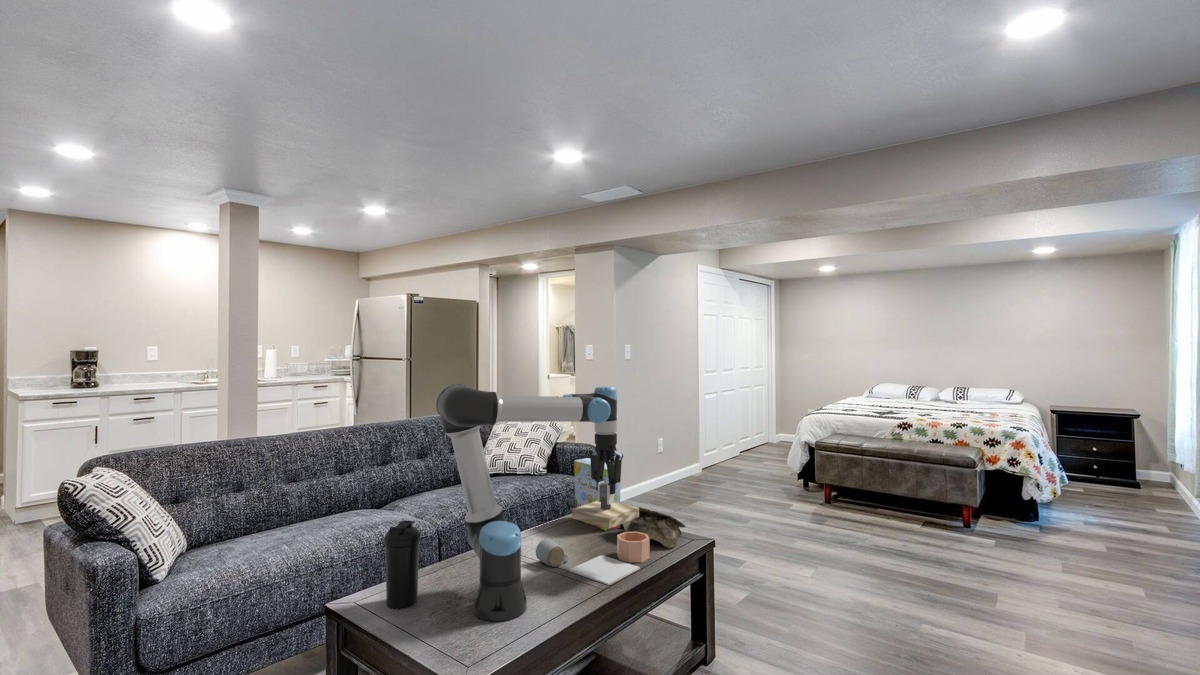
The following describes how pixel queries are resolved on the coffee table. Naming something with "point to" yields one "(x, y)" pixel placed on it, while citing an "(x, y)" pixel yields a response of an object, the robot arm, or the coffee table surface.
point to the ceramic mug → (550, 553)
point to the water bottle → (402, 565)
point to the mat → (604, 569)
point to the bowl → (633, 547)
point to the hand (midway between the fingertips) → (605, 502)
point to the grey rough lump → (656, 527)
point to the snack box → (590, 486)
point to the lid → (605, 512)
